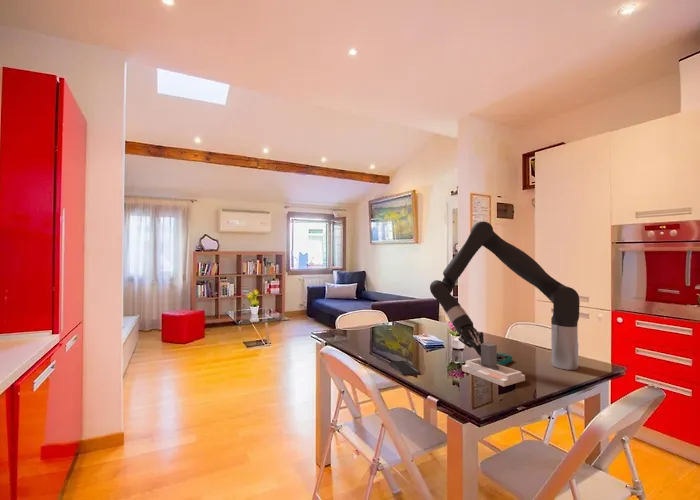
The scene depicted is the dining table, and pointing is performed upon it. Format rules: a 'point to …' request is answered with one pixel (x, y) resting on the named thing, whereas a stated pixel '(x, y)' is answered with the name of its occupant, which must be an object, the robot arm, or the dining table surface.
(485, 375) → the switch housing
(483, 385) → the dining table surface
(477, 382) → the dining table surface
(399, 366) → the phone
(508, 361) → the digital multimeter
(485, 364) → the slider tab
